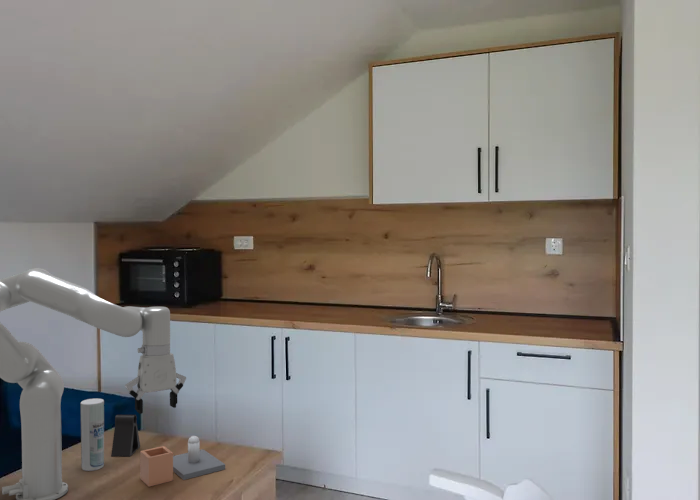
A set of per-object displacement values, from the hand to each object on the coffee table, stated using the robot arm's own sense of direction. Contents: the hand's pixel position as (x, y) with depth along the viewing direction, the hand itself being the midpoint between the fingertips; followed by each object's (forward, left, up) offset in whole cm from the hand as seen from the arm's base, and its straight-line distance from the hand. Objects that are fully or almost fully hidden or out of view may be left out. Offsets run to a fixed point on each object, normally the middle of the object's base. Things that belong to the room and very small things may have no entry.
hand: (156, 409), depth 171 cm
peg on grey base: (+12, +3, -20) cm, 24 cm away
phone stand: (0, +28, -20) cm, 35 cm away
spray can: (-12, +21, -20) cm, 32 cm away
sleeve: (0, 0, -20) cm, 20 cm away
